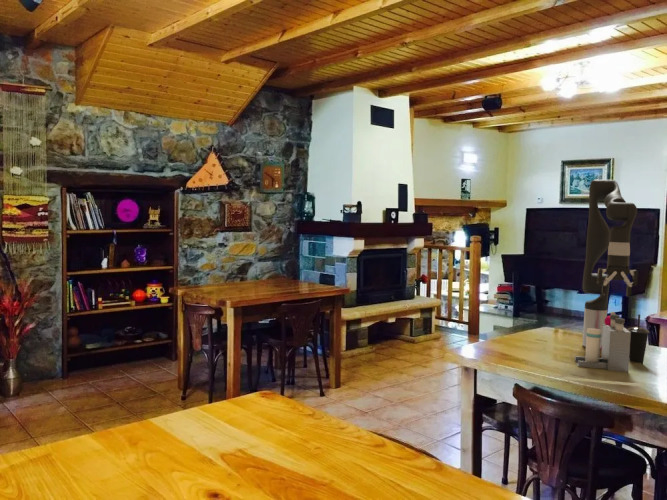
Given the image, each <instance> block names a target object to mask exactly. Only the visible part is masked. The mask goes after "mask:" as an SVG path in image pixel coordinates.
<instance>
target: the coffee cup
mask: <svg viewBox="0 0 667 500" xmlns="http://www.w3.org/2000/svg"><path fill="white" fill-rule="evenodd" d="M586 336H587V337H586V347H585V356H584V357H585V361H590V362H599V358H601V357H600V356H601V354H600V353H601V349H600V341H601V330H600V329H595V328H587V333H586Z"/></svg>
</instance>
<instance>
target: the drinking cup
mask: <svg viewBox="0 0 667 500" xmlns="http://www.w3.org/2000/svg"><path fill="white" fill-rule="evenodd" d="M640 324H641V314H637V326H633V327H632V326H631V327H630V328H627V330H628V331H630V332H631V338H630V353H629V362H632V363H639V364H641V365H644V360H645V353H646V348H647V343H648V342H647V341H648V335H649V333H650V330H648V329H646V328H644V327H640Z"/></svg>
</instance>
